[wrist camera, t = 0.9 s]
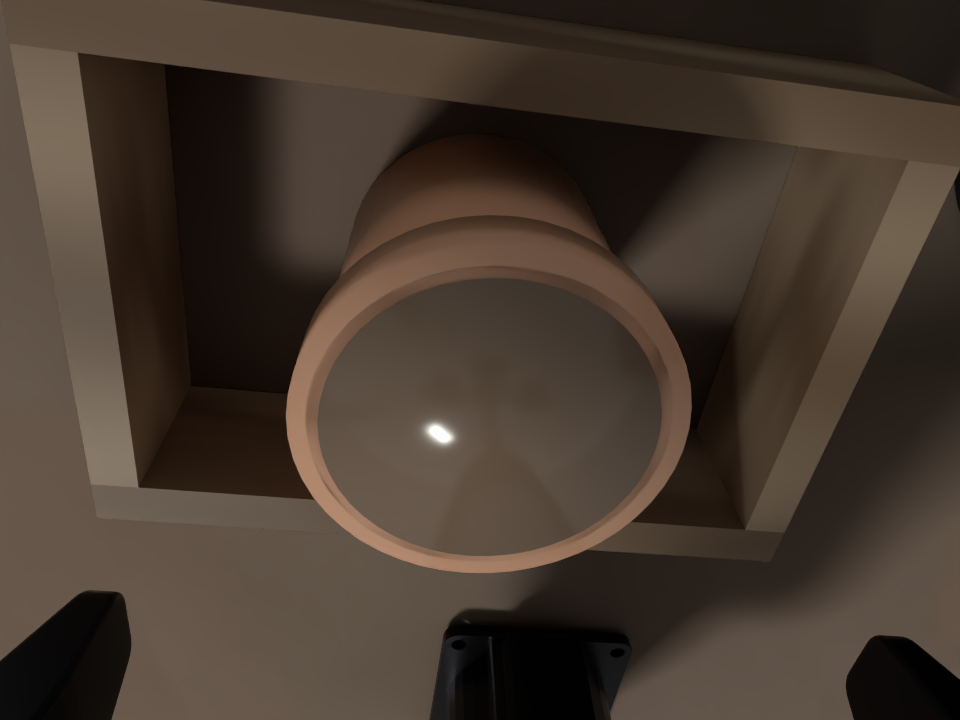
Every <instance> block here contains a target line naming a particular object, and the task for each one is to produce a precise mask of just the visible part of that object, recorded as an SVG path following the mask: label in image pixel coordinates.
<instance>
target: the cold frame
mask: <svg viewBox="0 0 960 720" xmlns="http://www.w3.org/2000/svg"><path fill="white" fill-rule="evenodd" d="M2 5H3V10H4V16H5V21H6V27H7V32H8V37H9V43H10V48H11V54H12V59H13V64H14V70H15V75H16V81H17V86H18V92H19V97H20V102H21V108H22V113H23V119H24V124H25V130H26V135H27V140H28V146H29V151H30V157H31V162H32V168H33V173H34V178H35V184H36V189H37V195H38V200H39V206H40V211H41V216H42V222H43V227H44V233H45V238H46V244H47V249H48V254H49V260H50V265H51V271H52V276H53V282H54V287H55V292H56V298H57V303H58V309H59V314H60V320H61V325H62V330H63V336H64V341H65V347H66V352H67V357H68V363H69V368H70V374H71V379H72V385H73V390H74V395H75V401H76V406H77V412H78V417H79V423H80V428H81V433H82V439H83V444H84V450H85V455H86V461H87V466H88V471H89V477H90V482H91V488H92V493H93V499H94V504H95V509H96V515H97V518H106V519H121V520H137V521H152V522H167V523H183V524H198V525H214V526H229V527H244V528H260V529H275V530H290V531H306V532H321V533H336V534H351V533H349V532H348V531H347V530H345V529H344V528H343V527H341V526H340V525H339V524H338V523H337V522H336V521H335V520H334V519H333V518H332V517H330V516H329V515H328V514H327V513H326V512H325V511H324V509H323V508H322V507H321V506H320V505H319V503H318V502H317V501H316V500H315V499H314V497H313V496H312V495H311V493H310V491H309V490H308V488H307V486H306V485H305V483H304V482H303V480H302V478H301V476H300V474H299V472H298V469H297V467H296V464H295V462H294V460H293V457H292V453H291V449H290V445H289V441H288V435H287V423H286V409H287V397H288V394H280V393H268V392H256V391H245V390H233V389H221V388H209V387H197V386H191V377H190V365H189V353H188V341H187V329H186V317H185V305H184V293H183V282H182V270H181V258H180V246H179V234H178V222H177V210H176V198H175V186H174V174H173V162H172V150H171V138H170V126H169V114H168V102H167V90H166V78H165V66H164V64H170V65H177V66H185V67H193V68H200V69H208V70H216V71H223V72H231V73H239V74H246V75H254V76H262V77H270V78H277V79H285V80H293V81H300V82H308V83H316V84H323V85H331V86H339V87H347V88H354V89H362V90H370V91H377V92H385V93H393V94H400V95H408V96H416V97H423V98H431V99H439V100H447V101H454V102H462V103H470V104H477V105H485V106H493V107H500V108H508V109H516V110H523V111H531V112H539V113H547V114H554V115H562V116H570V117H577V118H585V119H593V120H600V121H608V122H616V123H624V124H631V125H639V126H647V127H654V128H662V129H670V130H677V131H685V132H693V133H700V134H708V135H716V136H724V137H731V138H739V139H747V140H754V141H762V142H770V143H777V144H785V145H793V146H798V148H797V151H796V154H795V156H794V159H793V162H792V165H791V167H790V170H789V173H788V176H787V179H786V181H785V184H784V187H783V190H782V192H781V195H780V198H779V201H778V204H777V206H776V209H775V212H774V215H773V217H772V220H771V223H770V226H769V229H768V231H767V234H766V237H765V240H764V242H763V245H762V248H761V251H760V254H759V256H758V259H757V262H756V265H755V267H754V270H753V273H752V276H751V279H750V281H749V284H748V287H747V290H746V292H745V295H744V298H743V301H742V304H741V306H740V309H739V312H738V315H737V317H736V320H735V323H734V326H733V329H732V331H731V334H730V337H729V340H728V342H727V345H726V348H725V351H724V354H723V356H722V359H721V362H720V365H719V367H718V370H717V373H716V376H715V379H714V381H713V384H712V387H711V390H710V392H709V395H708V398H707V401H706V404H705V406H704V409H703V412H702V415H701V417H700V420H699V423H698V426H697V429H693V428H689V432H688V435H687V439H686V443H685V446H684V449H683V452H682V454H681V456H680V459H679V461H678V463H677V465H676V468H675V469H674V471H673V473H672V474H671V476H670V478H669V479H668V481H667V482H666V484H665V486H664V487H663V488H662V490H661V491H660V492H659V493H658V495H657V496H656V497H655V498H654V499H653V501H652V502H651V503H650V504H649V505H648V506H647V507H646V508H645V509H644V510H643V511H642V512H641V513H640V514H639V515H638V516H637V517H636V518H635V519H633V520H632V521H631V522H630V523H628V524H627V525H626V526H624V527H623V528H622V529H620V530H619V531H618V532H616V533H615V534H613V535H612V536H610V537H608V538H607V539H605V540H603V541H602V542H600V543H599V544H597V545H595V546H593V547H590V548H588V549H586V550H597V551H613V552H628V553H643V554H659V555H674V556H690V557H705V558H720V559H736V560H751V561H766V562H771V560H772V558H773V556H774V554H775V552H776V550H777V548H778V545H779V543H780V541H781V539H782V537H783V535H784V533H785V531H786V529H787V527H788V525H789V523H790V521H791V518H792V516H793V514H794V512H795V510H796V508H797V506H798V504H799V502H800V500H801V498H802V496H803V494H804V492H805V489H806V487H807V485H808V483H809V481H810V479H811V477H812V475H813V473H814V471H815V469H816V467H817V465H818V463H819V460H820V458H821V456H822V454H823V452H824V450H825V448H826V446H827V444H828V442H829V440H830V438H831V436H832V434H833V431H834V429H835V427H836V425H837V423H838V421H839V419H840V417H841V415H842V413H843V411H844V409H845V407H846V404H847V402H848V400H849V398H850V396H851V394H852V392H853V390H854V388H855V386H856V384H857V382H858V380H859V378H860V375H861V373H862V371H863V369H864V367H865V365H866V363H867V361H868V359H869V357H870V355H871V353H872V351H873V349H874V346H875V344H876V342H877V340H878V338H879V336H880V334H881V332H882V330H883V328H884V326H885V324H886V322H887V319H888V317H889V315H890V313H891V311H892V309H893V307H894V305H895V303H896V301H897V299H898V297H899V295H900V293H901V290H902V288H903V286H904V284H905V282H906V280H907V278H908V276H909V274H910V272H911V270H912V268H913V266H914V264H915V261H916V259H917V257H918V255H919V253H920V251H921V249H922V247H923V245H924V243H925V241H926V239H927V237H928V234H929V232H930V230H931V228H932V226H933V224H934V222H935V220H936V218H937V216H938V214H939V212H940V210H941V208H942V205H943V203H944V201H945V199H946V197H947V195H948V193H949V191H950V189H951V187H952V185H953V183H954V181H955V179H956V176H957V174H958V172H959V170H960V99H958V98H956V97H953V96H950V95H948V94H945V93H942V92H940V91H937V90H935V89H932V88H929V87H927V86H924V85H921V84H919V83H916V82H914V81H911V80H908V79H906V78H903V77H900V76H898V75H895V74H893V73H890V72H887V71H885V70H882V69H879V68H877V67H874V66H870V65H863V64H856V63H849V62H842V61H835V60H828V59H821V58H814V57H807V56H800V55H794V54H787V53H780V52H773V51H766V50H759V49H752V48H745V47H738V46H731V45H724V44H717V43H710V42H703V41H696V40H689V39H682V38H676V37H669V36H662V35H655V34H648V33H641V32H634V31H627V30H620V29H613V28H606V27H599V26H592V25H585V24H578V23H571V22H565V21H558V20H551V19H544V18H537V17H530V16H523V15H516V14H509V13H502V12H495V11H488V10H481V9H474V8H467V7H460V6H453V5H447V4H440V3H433V2H426V1H419V0H2Z"/></svg>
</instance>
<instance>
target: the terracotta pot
mask: <svg viewBox="0 0 960 720" xmlns="http://www.w3.org/2000/svg"><path fill="white" fill-rule="evenodd" d="M691 410H692V401H691V384H690V380H689V375H688V371H687V366H686V363H685V360H684V358H683V355H682V353H681V350H680V348H679V345H678V343H677V341H676V339H675V337H674V335H673V333H672V332H671V330H670V328H669V326H668V324H667V322H666V320H665V319H664V317H663V315H662V313H661V311H660V309H659V307H658V306H657V304H656V302H655V301H654V299H653V297H652V296H651V294H650V292H649V291H648V289H647V287H646V286H645V285H644V284H643V283H642V282H641V280H640V279H639V278H638V277H637V276H636V274H635V273H634V272H633V271H632V270H631V269H630V268H629V267H628V266H627V265H626V264H625V263H623V262H622V261H621V260H620V259H619V258H618V257H617V256H615V255H614V254H613V253H611V251H610V249H609V246H608V244H607V242H606V240H605V238H604V236H603V234H602V232H601V230H600V228H599V226H598V224H597V222H596V220H595V218H594V216H593V214H592V211H591V209H590V207H589V205H588V203H587V201H586V199H585V197H584V196H583V194H582V192H581V191H580V189H579V187H578V186H577V184H576V183H575V182H574V180H573V179H572V178H571V177H570V176H569V174H568V173H567V172H566V171H565V170H564V169H563V168H562V167H561V166H559V165H558V164H557V163H556V162H555V161H554V160H552V159H551V158H549V157H548V156H547V155H545V154H544V153H542V152H541V151H539V150H537V149H535V148H533V147H531V146H529V145H527V144H524V143H521V142H518V141H515V140H513V139H510V138H505V137H500V136H495V135H483V134H467V135H456V136H451V137H446V138H441V139H438V140H435V141H432V142H429V143H427V144H424V145H422V146H420V147H418V148H416V149H414V150H412V151H410V152H408V153H407V154H405V155H404V156H402V157H401V158H399V159H398V160H396V161H395V162H394V163H393V164H391V165H390V166H389V167H388V168H387V169H386V170H385V171H384V172H383V173H382V174H381V175H380V176H379V177H378V179H377V180H376V181H375V182H374V183H373V185H372V186H371V187H370V189H369V191H368V192H367V194H366V196H365V197H364V199H363V201H362V203H361V205H360V208H359V210H358V212H357V215H356V218H355V222H354V226H353V230H352V233H351V237H350V241H349V244H348V248H347V252H346V255H345V259H344V263H343V267H342V270H341V274H340V278H339V279H338V280H337V281H336V282H335V284H334V285H333V286H332V287H331V288H330V290H329V291H328V292H327V293H326V295H325V296H324V298H323V300H322V301H321V303H320V304H319V306H318V308H317V309H316V311H315V312H314V315H313V317H312V319H311V322H310V324H309V326H308V329H307V331H306V333H305V336H304V340H303V343H302V346H301V349H300V352H299V355H298V359H297V362H296V365H295V368H294V371H293V375H292V379H291V383H290V387H289V391H288V397H287V409H286V423H287V435H288V441H289V445H290V449H291V453H292V457H293V460H294V462H295V464H296V467H297V469H298V472H299V474H300V476H301V478H302V480H303V482H304V483H305V485H306V486H307V488H308V490H309V491H310V493H311V495H312V496H313V497H314V499H315V500H316V501H317V502H318V503H319V505H320V506H321V507H322V508H323V509H324V511H325V512H326V513H327V514H328V515H329V516H330V517H332V518H333V519H334V520H335V521H336V522H337V523H338V524H339V525H340V526H341V527H343V528H344V529H345V530H347V531H348V532H349V533H351V534H352V535H354V536H355V537H356V538H358V539H359V540H361V541H363V542H364V543H366V544H368V545H370V546H372V547H373V548H375V549H377V550H379V551H381V552H384V553H386V554H388V555H391V556H393V557H395V558H398V559H400V560H404V561H407V562H410V563H413V564H417V565H420V566H424V567H429V568H434V569H439V570H445V571H454V572H463V573H496V572H509V571H516V570H522V569H528V568H534V567H538V566H542V565H545V564H549V563H553V562H557V561H559V560H562V559H565V558H567V557H570V556H573V555H575V554H578V553H580V552H582V551H584V550H586V549H588V548H590V547H593V546H595V545H597V544H599V543H600V542H602V541H603V540H605V539H607V538H608V537H610V536H612V535H613V534H615V533H616V532H618V531H619V530H620V529H622V528H623V527H624V526H626V525H627V524H628V523H630V522H631V521H632V520H633V519H635V518H636V517H637V516H638V515H639V514H640V513H641V512H642V511H643V510H644V509H645V508H646V507H647V506H648V505H649V504H650V503H651V502H652V501H653V499H654V498H655V497H656V496H657V495H658V493H659V492H660V491H661V490H662V488H663V487H664V486H665V484H666V482H667V481H668V479H669V478H670V476H671V474H672V473H673V471H674V469H675V468H676V465H677V463H678V461H679V459H680V456H681V454H682V452H683V449H684V446H685V443H686V439H687V435H688V432H689V428H690V419H691Z"/></svg>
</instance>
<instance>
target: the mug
mask: <svg viewBox="0 0 960 720" xmlns="http://www.w3.org/2000/svg"><path fill="white" fill-rule="evenodd" d="M954 184H955V193H956V200H957V204H958V208H959V211H960V170H959V172H958V174H957V176H956V179H955V181H954Z"/></svg>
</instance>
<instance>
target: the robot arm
mask: <svg viewBox="0 0 960 720" xmlns="http://www.w3.org/2000/svg"><path fill="white" fill-rule="evenodd" d="M130 652H131V634H130V628H129V622H128V616H127V610H126V604H125V599H124V597H123V595H122V594H121V593H119V592H112V591H94V590H89V591H84V592H82V593H80V594H78V595H77V596H76V597H74V598H73V599H72V600H71V601H70V602H68V603H67V604H66V605H65V606H64V607H63V608H61V609H60V610H59V611H58V612H57V613H56V614H54V615H53V616H52V617H51V618H50V619H49V620H47V621H46V622H45V623H44V624H43V625H42V626H40V627H39V628H38V629H37V630H36V631H35V632H33V633H32V634H31V635H30V636H29V637H28V638H26V639H25V640H24V641H23V642H22V643H21V644H19V645H18V646H17V647H16V648H15V649H13V650H12V651H11V652H10V653H9V654H8V655H6V656H5V657H4V658H3V659H2V660H1V661H0V720H111V719H112V716H113V712H114V709H115V706H116V702H117V699H118V695H119V692H120V689H121V685H122V682H123V678H124V675H125V672H126V668H127V665H128V661H129V657H130ZM631 654H632V649H631V645H630V641H629V639H628V637H627V636H625V635H623V634H616V633H597V632H578V631H559V630H540V629H521V628H502V627H483V626H464V625H457V626H452V627H450V628H448V629H447V630H446V631H445V633H444V636H443V642H442V648H441V654H440V660H439V666H438V672H437V678H436V684H435V690H434V696H433V702H432V708H431V714H430V720H611V716H610V709H611V707H612V704H613V701H614V699H615V696H616V693H617V691H618V688H619V685H620V683H621V680H622V678H623V675H624V672H625V670H626V667H627V664H628V662H629V659H630V656H631ZM846 692H847V697H848V701H849V704H850V708H851V711H852V714H853V718H854V720H960V679H959V678H957V677H956V676H955V675H954V674H952V673H951V672H950V671H949V670H948V669H946V668H945V667H944V666H943V665H942V664H940V663H939V662H938V661H937V660H936V659H934V658H933V657H932V656H931V655H929V654H928V653H927V652H926V651H925V650H923V649H922V648H921V647H920V646H919V645H917V644H916V643H915V642H913V641H912V640H910V639H908V638H905V637H900V636H884V635H877V636H874V637H872V638H871V639H870V640H869V641H868V642H867V644H866V646H865V647H864V649H863V650H862V652H861V654H860V655H859V657H858V658H857V660H856V662H855V663H854V665H853V666H852V668H851V670H850V671H849V673H848V675H847V679H846Z"/></svg>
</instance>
